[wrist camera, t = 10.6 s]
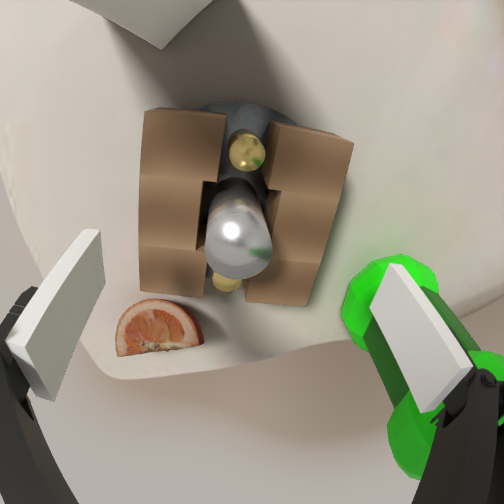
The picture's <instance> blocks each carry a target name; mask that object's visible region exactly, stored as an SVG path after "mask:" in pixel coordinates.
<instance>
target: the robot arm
mask: <svg viewBox="0 0 504 504" xmlns="http://www.w3.org/2000/svg"><path fill="white" fill-rule="evenodd" d="M105 283H106V282H105V274H104V266H103V257H102V246H101V234H100V230H94V229H84V230H83V231H82V232H81V233H80V235H79V236H78V237H77V238H76V240H75V241H74V242H73V243H72V244H71V246H70V247H69V248H68V249H67V251H66V252H65V253H64V255H63V256H62V257H61V258H60V260H59V261H58V262H57V264H56V265H55V266H54V268H53V269H52V270H51V272H50V273H49V274H48V276H47V277H46V278H45V280H44V281H43V283H42V284H41V285H40V287H39V288H37V287H32V286H31V287H30V288H29V289H27V290H26V291H25V292H23V293H22V294H21V295H20V297H19V298H18V299H17V301H16V302H15V305H14V306H13V307H12V308H11V309H10V311H9V313H8V314H7V316H6V317H5V319H4V320H3V322H2V323H1V325H0V493H1V495H2V498H3V500H4V502H5V504H79V503H78V502H77V500H76V498H75V496H74V495H73V493H72V491H71V490H70V488H69V486H68V484H67V483H66V481H65V479H64V477H63V475H62V473H61V472H60V470H59V468H58V466H57V464H56V462H55V460H54V458H53V456H52V454H51V451H50V449H49V447H48V445H47V443H46V440H45V438H44V436H43V433H42V431H41V429H40V426H39V424H38V421H37V419H36V416H35V413H34V411H33V408H32V405H31V402H30V400H29V398H28V396H27V392H28V390H29V388H30V387H31V389H32V390H33V392H34V393H35V395H36V396H38V397H41V398H44V399H47V400H50V401H53V402H54V401H55V399H56V396H57V393H58V390H59V388H60V385H61V382H62V380H63V377H64V374H65V372H66V369H67V367H68V364H69V362H70V359H71V357H72V354H73V352H74V349H75V347H76V345H77V343H78V340H79V338H80V336H81V333H82V331H83V329H84V327H85V325H86V322H87V320H88V318H89V316H90V314H91V312H92V310H93V307H94V305H95V303H96V301H97V299H98V297H99V295H100V293H101V291H102V289H103V287H104V285H105ZM369 308H370V310H371V311H372V313H373V315H374V317H375V319H376V321H377V323H378V325H379V327H380V329H381V331H382V333H383V335H384V337H385V339H386V341H387V342H388V344H389V347H390V349H391V351H392V353H393V355H394V357H395V359H396V361H397V363H398V365H399V367H400V369H401V371H402V373H403V375H404V378H405V380H406V382H407V384H408V386H409V388H410V391H411V393H412V395H413V397H414V400H415V402H416V404H417V406H418V409H419V411H420V413H425V412H429V411H433V410H434V409H435V408H436V407H437V406H438V405H439V404H440V403H441V402H442V401H443V403H444V405H445V407H444V408H443V409H442V410H441V411H440V412H439V413H438V414H437V415H436V416H435V417H434V418H433V419H432V420H431V422H430V423H431V424H432V423H433V422H434V421H435V420H436V419H439V420H438V422H437V423H436V424H435V426H437V428H436V432H435V436H434V439H433V443H432V447H431V450H430V453H429V457H428V460H427V463H426V466H425V469H424V472H423V475H422V478H421V481H420V483H419V486H418V489H417V491H416V494H415V496H414V499H413V501H412V504H504V423H503V424H502V425H500V426H499V424H498V421H499V420H500V419H501V418H502V417H503V416H504V381H498V380H497V379H496V377H495V376H494V375H493V374H492V372H490V371H489V370H487V369H484V368H481V369H478V368H477V366H476V365H475V363H474V362H473V360H472V358H471V357H470V355H469V354H468V352H467V350H466V349H465V347H464V346H462V343H461V341H460V340H459V339H458V337H457V335H456V334H455V332H454V331H453V329H452V328H451V327H450V326H449V325H447V324H446V323H445V322H444V321H443V319H442V318H441V316H440V315H439V313H438V312H437V311H436V309H435V308H434V306H433V305H432V304H431V302H430V301H429V300H428V298H427V297H426V295H425V294H424V293H423V291H422V290H421V289H420V287H419V286H418V285H417V283H416V282H415V281H414V280H413V278H412V277H411V276H410V274H409V273H408V272H407V271H406V269H405V268H404V267H403V265H401V264H393V263H389V266H388V268H387V270H386V273H385V275H384V277H383V279H382V282H381V284H380V286H379V288H378V290H377V293H376V295H375V297H374V299H373V301H372V303H371V305H370V307H369Z"/></svg>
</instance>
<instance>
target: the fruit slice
mask: <svg viewBox="0 0 504 504" xmlns="http://www.w3.org/2000/svg"><path fill="white" fill-rule="evenodd" d="M115 341H116V351H117V356H120V357H122V356H130V355H135V354H143V353H148V352H158V351H164V350H165V351H166V352H168V351H169V350H178V349H182V348H188V347H194V346H198V345H201V344H204V337H203V333H202V330H201V327H200V325H199V324H198V322H197V320H196V319H195V317H194V316H193V315H192V314H191V313H190V312H189V311H188V310H187V309H186V308H184V307H183V306H181V305H178V304H176V303H173V302H171V301H167V300H162V299H147V300H143V301H140V302H138V303H136V304H134V305H133V306H131V307H130V308H128V309H127V310H126V312H125V313H124V314H123V315H122V316H121V318H120V320H119V323H118V325H117V330H116V337H115Z"/></svg>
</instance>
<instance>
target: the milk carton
mask: <svg viewBox="0 0 504 504" xmlns="http://www.w3.org/2000/svg"><path fill="white" fill-rule="evenodd" d="M70 1H72V2H75V3H77V4H79V5H81V6H83V7H85V8H87V9H89V10H91V11H93V12H95V13H97V14H99V15H101V16H103V17H105V18H107V19H108V20H110V21H112V22H114V23H116V24H118V25H119V26H121V27H123V28H125V29H127V30H128V31H130V32H132V33H134V34H135V35H137V36H139V37H140V38H142V39H144V40H145V41H147V42H149V43H150V44H152V45H154V46H155V47H157V48H159V49H160V50H162V49H163V48H164V47H165V46H166V45H167V44H168V43H169V42H170V41H171V40H172V39H173V38H174V37H175V36H176V35H177V34H178V33H179V32H180V31H181V30H182V29H183V28H184V27H185V26H186V25H187V24H188V23H189V22H190V21H191V20H192V19H193V18H194V17H195V16H196V15H197V14H198V13H200V12H201V11H202V10H203V9H204V8H205V7H206V6H207V5H209V4H210V3H211V2H212V1H213V0H70Z"/></svg>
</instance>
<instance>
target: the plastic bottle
mask: <svg viewBox="0 0 504 504" xmlns="http://www.w3.org/2000/svg"><path fill="white" fill-rule="evenodd" d="M389 263H393V264H401V265H403V267H404V268H405V269H406V271H407V272H408V273H409V274H410V276H411V277H412V278H413V280H414V281H415V282H416V283H417V285H418V286H419V287H420V289H421V290H422V291H423V293H424V294H425V295H426V297H427V298H428V300H429V301H430V302H431V304H432V305H433V306H434V308H435V309H436V311H437V312H438V313H439V315H440V316H441V318H442V319H443V321H444V322H445V323H446V324H447V325H449V326H450V327H451V328H452V329H453V331H454V332H455V334H456V335H457V337H458V339H459V340H460V341H461V343H462V346H464V347H465V349H466V350H467V352H468V354H469V355H470V357H471V358H472V360H473V362H474V363H475V365H476V366H477V368H478V369H481V368H484V369H487V370H489V371H490V372H492V374H493V375H494V376H495V377H496V379H497V380H498V381H504V357H503V356H502V355H500V354H495V353H492V352H488V351H481V350H480V348H479V347H478V345H477V344H476V342H475V341H474V340H473V338H472V337H471V336H470V334H469V333H468V332H467V330H466V329H465V327H464V326H463V325H462V324H461V322H460V321H459V320H458V318H457V317H456V316H455V314H454V313H453V312H452V311H451V309H450V308H449V307H448V306H447V304H446V303H445V302H444V301H443V299H442V298H441V297H440V296H439V290H438V283H437V280H436V276H435V274H434V273H433V271H432V270H431V269H430V268H429V267H428V266H426V265H424V264H422V263H420V262H418V261H416V260H415V259H413V258H411V257H409V256H406V255H402V254H399V255H395V256H391V257H387V258H383V259H379V260H375V261H372V262H371V263H370V264H369V265H367V266H366V267H365V268H364V269H363V270H362V271H361V272H360V273H359V274H357V275H356V276H355V277H354V278H353V279H352V280H351V282H350V285H349V288H348V291H347V293H346V296H345V299H344V302H343V305H342V311H341V316H342V318H343V320H344V323H345V325H346V327H347V329H348V331H349V333H350V335H351V337H352V339H353V342H354V343H355V344H356V345H358V346H359V347H360V348H361V349H363V350H365V351H367V352H369V353H370V355H371V357H372V359H373V361H374V363H375V366H376V368H377V370H378V372H379V375H380V377H381V379H382V381H383V383H384V386H385V388H386V390H387V393H388V395H389V397H390V400H391V402H392V404H393V406H394V411H393V413H392V416H391V418H390V420H389V422H388V424H387V431H388V439H389V444H390V447H391V450H392V453H393V455H394V458H395V460H396V462H397V464H398V466H399V467H400V468H401V469H402V470H403V471H404V472H405V473H406V474H407V475H408V476H409V477H410V478H414V479H417V480H421V478H422V475H423V472H424V469H425V466H426V463H427V460H428V457H429V453H430V450H431V447H432V443H433V439H434V436H435V432H436V428H437V426H435V424H436V423H437V422H438V420H439V419H436V420H435V421H434V422H433V423H432V424H431V423H430V422H431V420H432V419H433V418H434V417H435V416H436V415H437V414H438V413H439V412H440V411H441V410H442V409H443V408H444V407H445V405H444V403H443V401H442V402H441V403H440V404H439V405H438V406H437V407H436V408H435V409H434V410H433V411H429V412H425V413H420V411H419V409H418V406H417V404H416V402H415V400H414V397H413V395H412V393H411V391H410V388H409V386H408V384H407V382H406V380H405V378H404V375H403V373H402V371H401V369H400V367H399V365H398V363H397V361H396V359H395V357H394V355H393V353H392V351H391V349H390V347H389V344H388V342H387V341H386V339H385V337H384V335H383V333H382V331H381V329H380V327H379V325H378V323H377V321H376V319H375V317H374V315H373V313H372V311H371V310H370V308H369V307H370V305H371V303H372V301H373V299H374V297H375V295H376V293H377V290H378V288H379V286H380V284H381V282H382V279H383V277H384V275H385V273H386V270H387V268H388V266H389ZM503 423H504V416H503V417H502V418H501V419H500V420H499V421H498V424H499V426H500V425H502V424H503Z"/></svg>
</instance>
